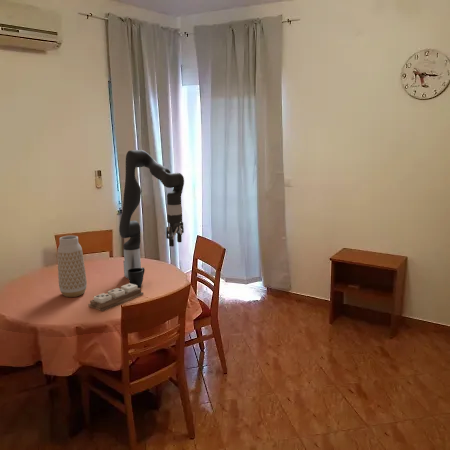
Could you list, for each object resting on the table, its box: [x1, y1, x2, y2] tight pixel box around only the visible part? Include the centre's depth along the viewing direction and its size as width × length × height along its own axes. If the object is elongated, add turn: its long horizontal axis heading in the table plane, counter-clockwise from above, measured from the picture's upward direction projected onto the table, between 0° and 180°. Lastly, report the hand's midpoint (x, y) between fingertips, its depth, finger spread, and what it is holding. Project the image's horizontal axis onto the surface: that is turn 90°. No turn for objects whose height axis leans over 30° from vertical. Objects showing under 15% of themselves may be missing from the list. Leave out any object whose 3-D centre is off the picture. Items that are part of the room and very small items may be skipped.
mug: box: [127, 266, 146, 289], centre depth 233 cm, size 8×12×10 cm
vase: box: [57, 235, 88, 298], centre depth 219 cm, size 14×14×31 cm
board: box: [88, 287, 144, 312], centre depth 213 cm, size 11×26×3 cm, turn 144°
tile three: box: [93, 292, 112, 304], centre depth 206 cm, size 6×6×3 cm
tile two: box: [107, 287, 125, 298], centre depth 212 cm, size 6×6×3 cm
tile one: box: [120, 282, 138, 293], centre depth 219 cm, size 6×6×3 cm
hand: (175, 244), depth 215 cm, fingers open, 8 cm apart
